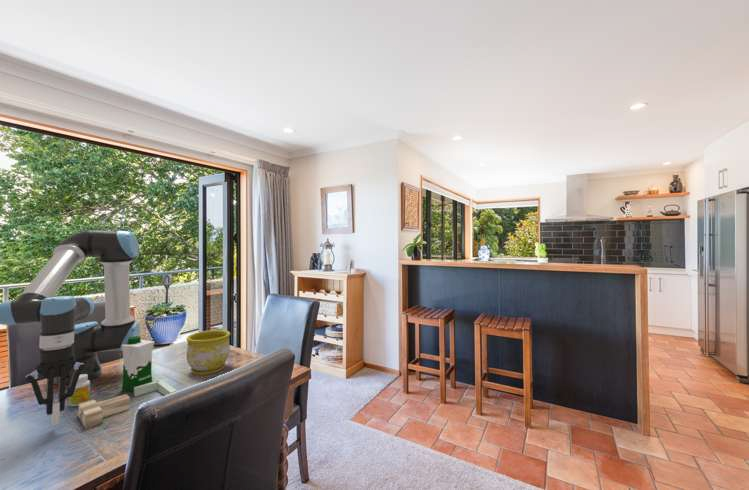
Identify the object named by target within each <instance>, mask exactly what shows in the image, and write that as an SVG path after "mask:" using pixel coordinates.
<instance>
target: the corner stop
mask: <svg viewBox="0 0 749 490" xmlns="http://www.w3.org/2000/svg"><path fill="white" fill-rule="evenodd" d="M155 391H158V392H159V393H160V394H161V395H163V396H164V395H167V394H170V393H173V392H176V391H177V390H176V389H175V388H174V387H172V386H171V385H169V384H168V383H167V382H166V381H164V380H162V379H158V380H155V381H152V382H150V383H147V384H144V385H140V386H137V387H134V391H133V396H134V397H138V396H142V395H145V394H149V393H151V392H155Z"/></svg>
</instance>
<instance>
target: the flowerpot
mask: <svg viewBox="0 0 749 490" xmlns="http://www.w3.org/2000/svg"><path fill="white" fill-rule="evenodd" d="M230 336H231V332H230V331H228V330H225V329H212V330H210V329H209V330H203V331H198V332H195V333H191V334H189V335H188V336H186V341H187V344H186V345H187V348H186V361H187V364H188V365H189V367H190V372H192V373H193V374H194V375H197V376H207V375H208V374H209V375H213V374H217V373H220V372H221V371H222V370H224V368H225V366H226V362H227V360H228V358H229V356H230V350H231V348H230V347H231V345H230Z"/></svg>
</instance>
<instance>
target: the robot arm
mask: <svg viewBox="0 0 749 490" xmlns="http://www.w3.org/2000/svg"><path fill="white" fill-rule="evenodd" d="M52 254H53V255H52V256H51V258H50V259H49V260H48V261H47V263H45V265H44V266H43V267H42V268H41V270H40V271H39V272H38V273H37V274H36V276H35V277H33V279H32V280H31V281H30V283H29V284H28V285H27V286H26V288H25V289H24V290H23V291H22V292H21V294H20V295H19V296H18V297H17V298H16V299H15V300H10V301H3V302H1V303H0V325H3V326H15V325H16V326H19V325H29V324H31V325H32V324H39V325H40V327H39V329H40V330H39V332H40V333H39V343H38V344H39V346H38V347H39V351H38V364H37V366H36V368H35V370H33V371H32V372H30V373H27V374H26V375H25V377H24V378H25V379H26V380H27V381H28V382H29V383H30V384H31V387H32V390H33V392H34V395H35V398H36V401H37V404H38V405H40V406H42V405H46V407H45V412H46V415H47V416H49V415H50V424H51V426H56V425H59V424H60V412H63V411H65V409H66V408H65V405H66V403H65V401H66V400H67V399H69V397H71V396H73V393H74V390H75V387H76V384H77V381H78V378H79V375H82V374H87V375H88V379H87V380H89V381H91V380H93V379H95V378H97V377H99V376H100V375H102V374H103V367H102V365H101V363H100V361H99V359H98V353H101V352H112V351H114V352H115V351H123V350H122V345H125V344H127V343H128V338H130V337H136V336H139V337H140V331H141V324H140V322H137V321H136V320H135V317H134V316H133V315H131V296H130V295H131V293H130V290H131V289H130V287H131V286H130V284H131V283H130V264H131V263H133V262H134V258H137V256H138V255H139V242H138V239H137V237H136V235H135V234H134V233H133V232H132V231H128V230H126V231H125V230H97V229H92V230H91V229H88V230H82V231H79V232H77V233H74V234H72V235H69V236H68V237H66V238H64V239H63V240H61V241H60V242H58V244H57V245H55V247H54V248H53V251H52ZM86 258H98V261H99V263H100V264H101V265H103V276H104V278H103V279H104V307H105V308H104V311H105V314H104V316H105V318H104V319H103V320H102V321H101V322H100V324H99V322H98V321H88V322H82V323H78V324H75V323H76V322H77V321H80V320H83V319H86V318H88V316H90V315H92V314H93V312H94V311H95V306H96V305H95V303H94V301H93V300H92V299H90V298H89V297H85V296H83V297H82V296H80V297H74V295H73V296H72V295H63V296H61V295H60V296H56V294H57V293H58V291H59V290H60V289H61V287H62V285H63V284H64V282H65V281H66V280H67V278H68V277H69V275H70V274H71V273H72V271H73V270H74V268H75V267H76V266H77V264H80V263H82V262H83V261H84V260H85V259H86ZM38 374H39V375H41V376H43V377H44V378H45V379H46V397H45V398H44V396H43V393H42V390H41V388H40V386H39V383H38V380H37V379H38V377H39V376H38ZM54 385H57V386H58V397H57V398H58V399H56V400H54V387H55V386H54ZM67 385H68V388H67V391H66V386H67Z"/></svg>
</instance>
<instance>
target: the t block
mask: <svg viewBox="0 0 749 490" xmlns="http://www.w3.org/2000/svg"><path fill="white" fill-rule="evenodd" d="M130 399H131V397H130V396H129V395H128V394H127V393H125V394H121V395H119V396H115V397H112V398H109V399H105V400H101V401H98V402H97V401H96V399H90V400H89V401H86V402H83V403H79V404H78V406H77V416H78V418H79V420H80V421H81V423H82V425H83V427H84V428H85V429H88V428H91V427H94V426H97V425H100V424H103V420H104V419H103V418H106V417H108V416H112V415H114V414H118V413H120V412H124V411H127V410H129V409H130V403H131V401H130Z"/></svg>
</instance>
